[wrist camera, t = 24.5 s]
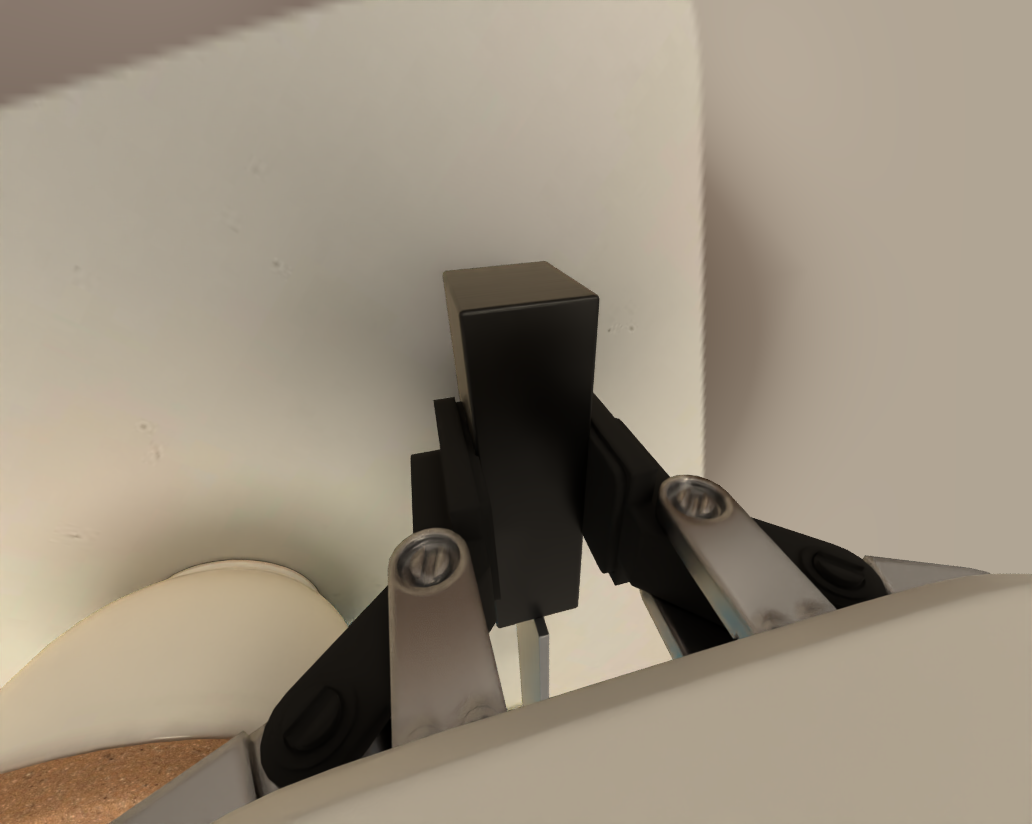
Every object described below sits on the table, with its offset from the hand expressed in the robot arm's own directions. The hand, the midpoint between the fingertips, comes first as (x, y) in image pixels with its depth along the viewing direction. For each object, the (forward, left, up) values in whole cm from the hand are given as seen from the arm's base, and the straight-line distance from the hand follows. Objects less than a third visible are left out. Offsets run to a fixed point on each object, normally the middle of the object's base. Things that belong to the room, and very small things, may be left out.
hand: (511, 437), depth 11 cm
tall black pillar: (+7, 0, -1) cm, 7 cm away
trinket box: (+9, -11, -4) cm, 15 cm away
